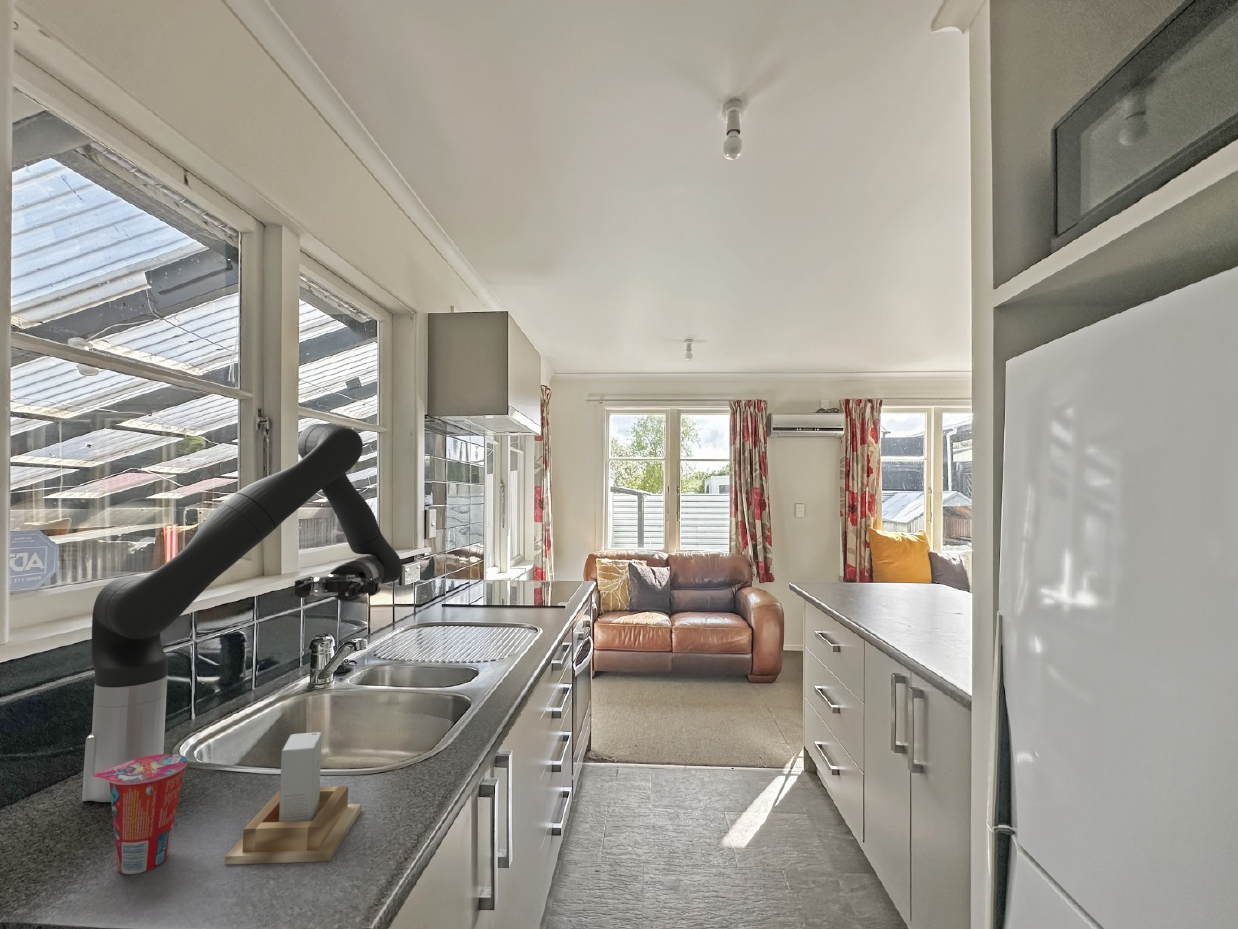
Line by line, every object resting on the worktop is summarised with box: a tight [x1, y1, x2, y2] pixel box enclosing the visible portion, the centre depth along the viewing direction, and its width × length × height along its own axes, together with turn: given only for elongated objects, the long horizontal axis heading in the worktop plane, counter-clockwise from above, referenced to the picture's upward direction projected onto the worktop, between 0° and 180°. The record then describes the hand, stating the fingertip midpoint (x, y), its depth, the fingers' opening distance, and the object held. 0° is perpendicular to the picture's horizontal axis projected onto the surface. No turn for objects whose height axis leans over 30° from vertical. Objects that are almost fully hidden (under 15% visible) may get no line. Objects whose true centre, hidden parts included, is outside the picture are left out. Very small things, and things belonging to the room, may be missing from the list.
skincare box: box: [279, 731, 323, 822], centre depth 88 cm, size 6×4×12 cm
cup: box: [93, 753, 189, 875], centre depth 81 cm, size 9×8×12 cm
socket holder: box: [224, 785, 362, 865], centre depth 88 cm, size 13×13×4 cm
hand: (325, 592), depth 111 cm, fingers open, 8 cm apart
